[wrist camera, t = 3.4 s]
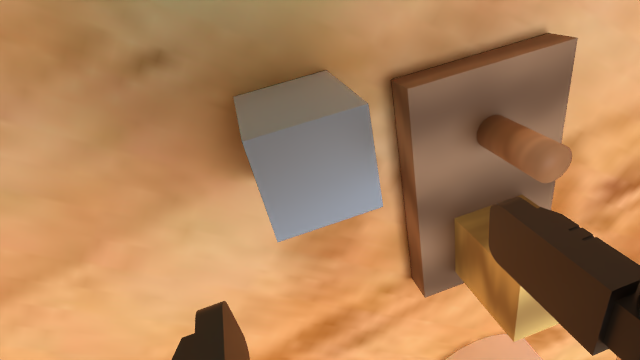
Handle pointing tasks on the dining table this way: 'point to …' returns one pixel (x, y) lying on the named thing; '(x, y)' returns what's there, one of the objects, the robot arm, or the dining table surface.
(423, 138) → the brown wooden stand
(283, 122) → the pale grey cube
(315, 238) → the dining table surface
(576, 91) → the dining table surface
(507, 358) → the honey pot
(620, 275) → the robot arm
